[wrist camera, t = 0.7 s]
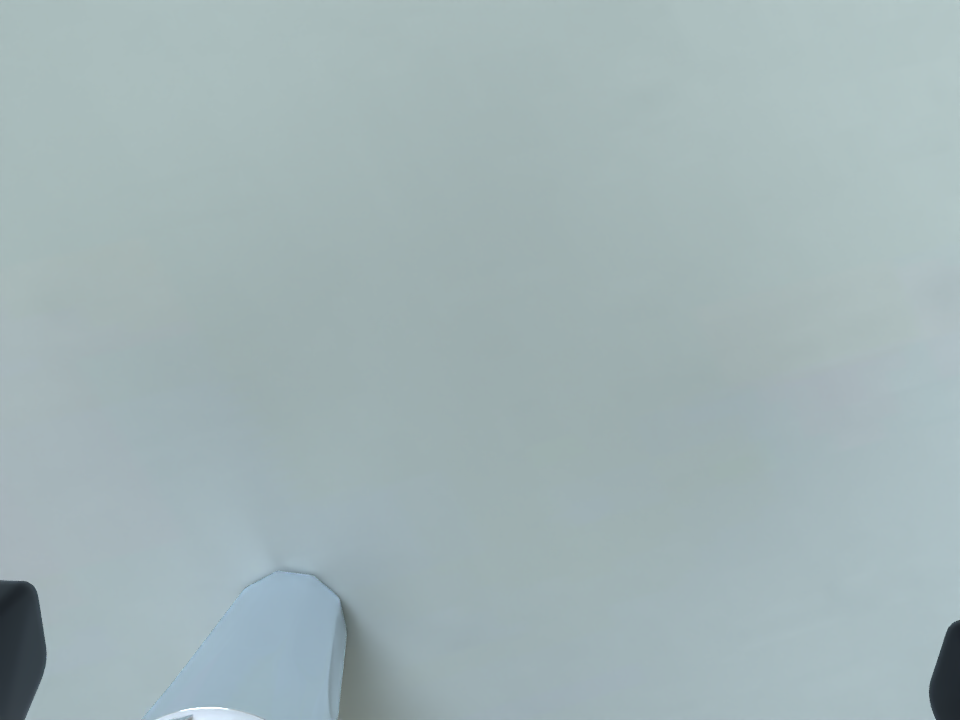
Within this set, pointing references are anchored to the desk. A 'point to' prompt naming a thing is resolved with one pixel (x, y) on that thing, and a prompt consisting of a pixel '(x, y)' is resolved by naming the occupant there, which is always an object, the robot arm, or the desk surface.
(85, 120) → the desk surface
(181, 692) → the milkshake
